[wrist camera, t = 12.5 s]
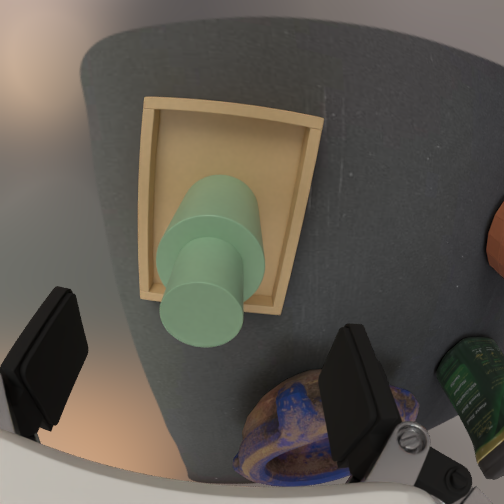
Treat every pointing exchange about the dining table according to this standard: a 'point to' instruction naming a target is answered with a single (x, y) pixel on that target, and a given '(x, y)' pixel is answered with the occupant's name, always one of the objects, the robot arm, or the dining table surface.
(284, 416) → the bowl
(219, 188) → the bottle
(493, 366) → the coffee jar
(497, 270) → the clay bowl
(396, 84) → the dining table surface
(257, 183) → the tray
